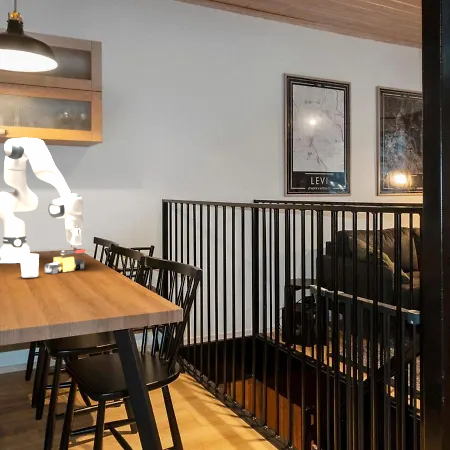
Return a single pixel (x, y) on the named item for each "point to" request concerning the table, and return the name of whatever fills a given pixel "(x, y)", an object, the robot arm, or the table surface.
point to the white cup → (29, 265)
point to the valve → (64, 264)
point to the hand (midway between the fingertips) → (73, 252)
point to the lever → (72, 251)
